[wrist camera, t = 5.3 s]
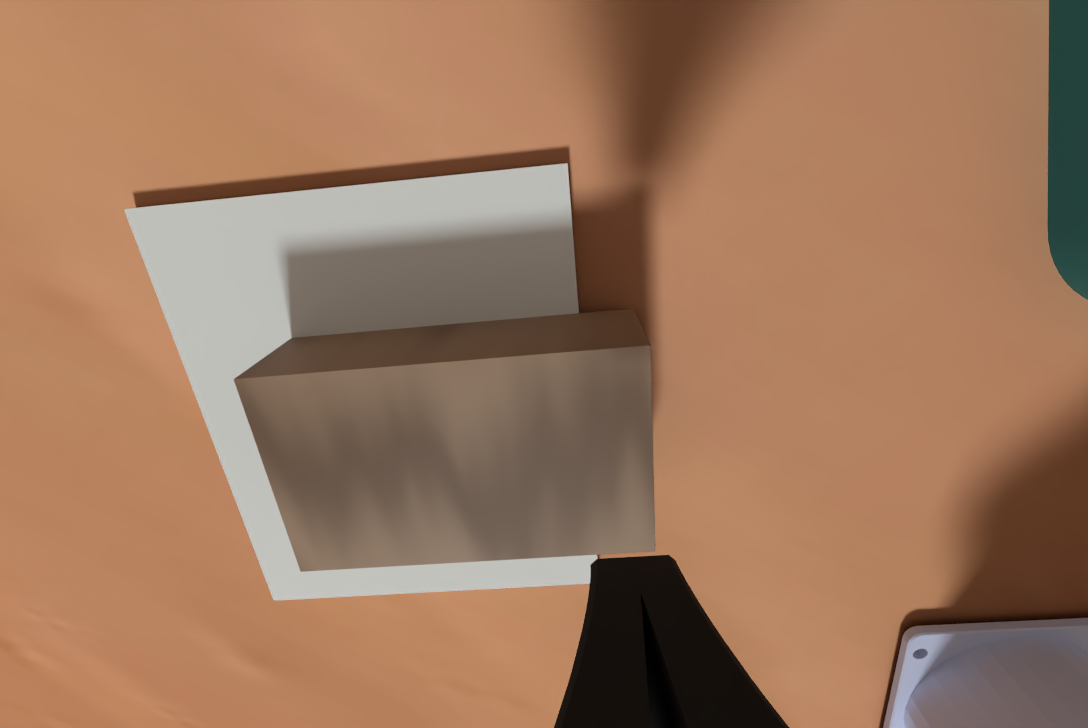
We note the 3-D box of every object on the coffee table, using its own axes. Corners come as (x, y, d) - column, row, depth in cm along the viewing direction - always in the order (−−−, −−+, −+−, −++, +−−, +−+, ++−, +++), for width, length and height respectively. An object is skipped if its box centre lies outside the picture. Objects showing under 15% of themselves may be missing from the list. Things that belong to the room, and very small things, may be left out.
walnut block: (655, 551, 14) (300, 571, 15) (640, 485, 17) (341, 505, 18) (650, 345, 12) (233, 379, 13) (633, 308, 15) (291, 338, 16)
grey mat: (598, 574, 19) (599, 582, 19) (279, 592, 20) (273, 600, 20) (567, 163, 14) (567, 163, 14) (134, 207, 15) (123, 209, 14)
